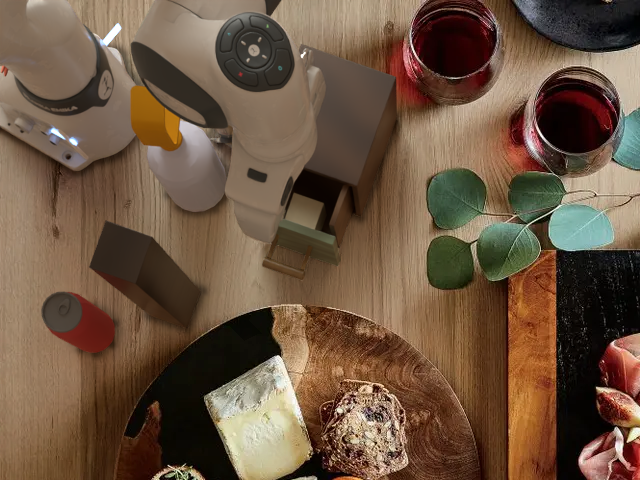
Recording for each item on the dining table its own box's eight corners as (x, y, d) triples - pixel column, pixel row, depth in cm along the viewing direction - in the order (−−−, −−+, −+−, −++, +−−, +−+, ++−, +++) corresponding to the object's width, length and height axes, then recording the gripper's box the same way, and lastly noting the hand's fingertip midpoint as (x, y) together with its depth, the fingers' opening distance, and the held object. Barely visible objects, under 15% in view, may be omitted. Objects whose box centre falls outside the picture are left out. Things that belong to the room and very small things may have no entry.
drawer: (327, 298, 121) (320, 279, 111) (248, 270, 121) (234, 248, 111) (371, 174, 121) (368, 144, 111) (292, 146, 121) (282, 113, 111)
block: (287, 233, 120) (283, 222, 115) (297, 204, 120) (293, 192, 115) (316, 243, 120) (313, 233, 115) (326, 214, 120) (323, 203, 115)
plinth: (149, 315, 122) (88, 267, 98) (163, 277, 122) (105, 220, 98) (187, 329, 122) (135, 283, 98) (201, 291, 122) (152, 236, 98)
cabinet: (361, 217, 122) (357, 186, 110) (275, 187, 122) (262, 152, 110) (396, 118, 122) (396, 76, 110) (310, 88, 122) (301, 43, 110)
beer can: (123, 320, 122) (93, 299, 110) (105, 361, 122) (73, 344, 110) (84, 302, 122) (49, 279, 110) (65, 342, 123) (29, 323, 111)
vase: (220, 106, 122) (211, 85, 116) (254, 120, 122) (246, 100, 116) (206, 139, 122) (196, 120, 116) (239, 153, 122) (231, 135, 116)
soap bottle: (230, 155, 122) (187, 64, 98) (224, 215, 122) (179, 141, 98) (170, 149, 122) (112, 58, 98) (164, 210, 122) (104, 134, 98)
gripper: (281, 30, 90) (294, 93, 104) (218, 206, 90) (240, 245, 104) (335, 49, 90) (341, 110, 104) (272, 225, 90) (287, 262, 104)
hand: (290, 179), depth 104 cm, fingers open, 8 cm apart
